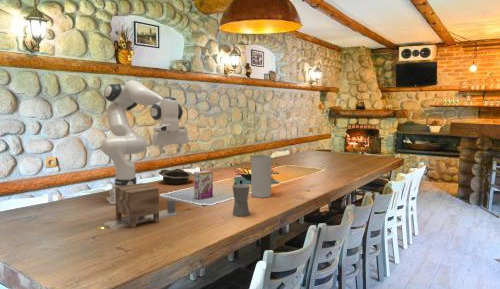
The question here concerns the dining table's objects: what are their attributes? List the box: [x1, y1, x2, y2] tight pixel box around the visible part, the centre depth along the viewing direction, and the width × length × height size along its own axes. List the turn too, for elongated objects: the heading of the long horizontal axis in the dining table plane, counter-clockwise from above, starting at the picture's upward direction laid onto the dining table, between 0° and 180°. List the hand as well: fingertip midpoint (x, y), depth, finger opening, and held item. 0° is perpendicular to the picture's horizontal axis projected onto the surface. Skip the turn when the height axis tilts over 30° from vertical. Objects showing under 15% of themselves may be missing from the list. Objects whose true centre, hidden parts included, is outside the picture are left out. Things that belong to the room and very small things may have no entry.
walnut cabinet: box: [115, 182, 160, 229], centre depth 186 cm, size 18×15×16 cm
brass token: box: [95, 224, 109, 231], centre depth 175 cm, size 5×5×1 cm
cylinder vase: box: [250, 154, 272, 199], centre depth 238 cm, size 12×12×25 cm
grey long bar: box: [103, 199, 178, 230], centre depth 188 cm, size 36×8×7 cm, turn 132°
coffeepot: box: [232, 179, 250, 217], centre depth 199 cm, size 15×9×18 cm, turn 25°
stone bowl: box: [158, 168, 194, 185], centre depth 281 cm, size 25×25×9 cm
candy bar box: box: [193, 169, 214, 200], centre depth 234 cm, size 11×5×16 cm, turn 134°
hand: (171, 152), depth 205 cm, fingers open, 8 cm apart
